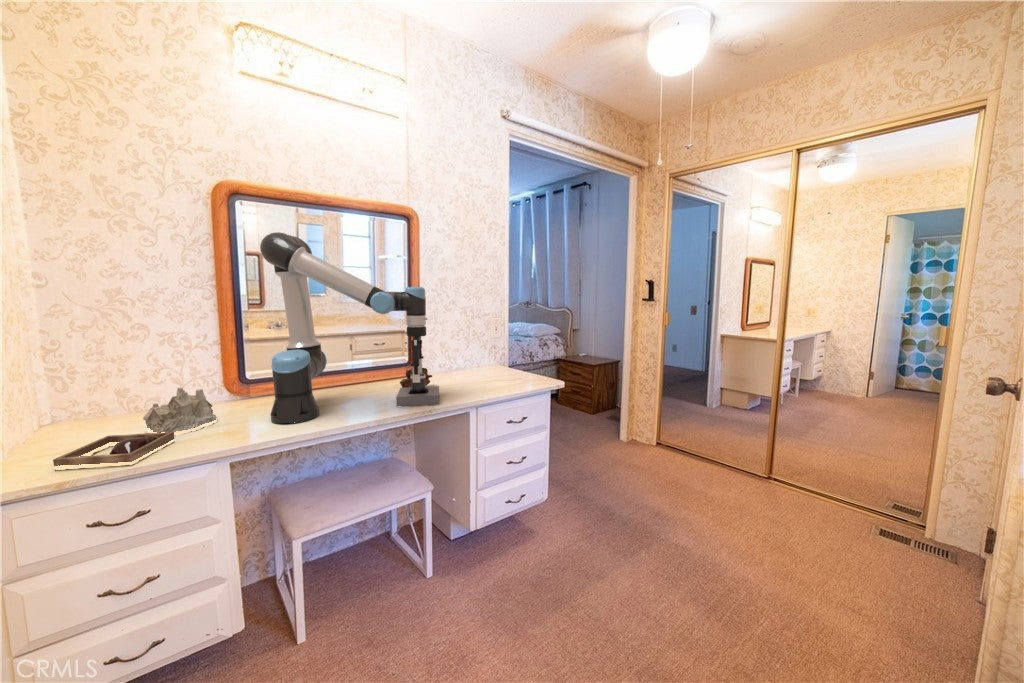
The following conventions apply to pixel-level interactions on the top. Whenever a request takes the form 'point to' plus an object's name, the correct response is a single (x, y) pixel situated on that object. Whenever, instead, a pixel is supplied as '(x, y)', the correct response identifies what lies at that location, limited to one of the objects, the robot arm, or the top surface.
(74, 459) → the frame
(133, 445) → the heart ornament
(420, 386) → the lens
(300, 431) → the top surface
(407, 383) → the wooden carving
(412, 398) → the grey recessed frame block
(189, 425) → the ceramic cottage
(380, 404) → the top surface
